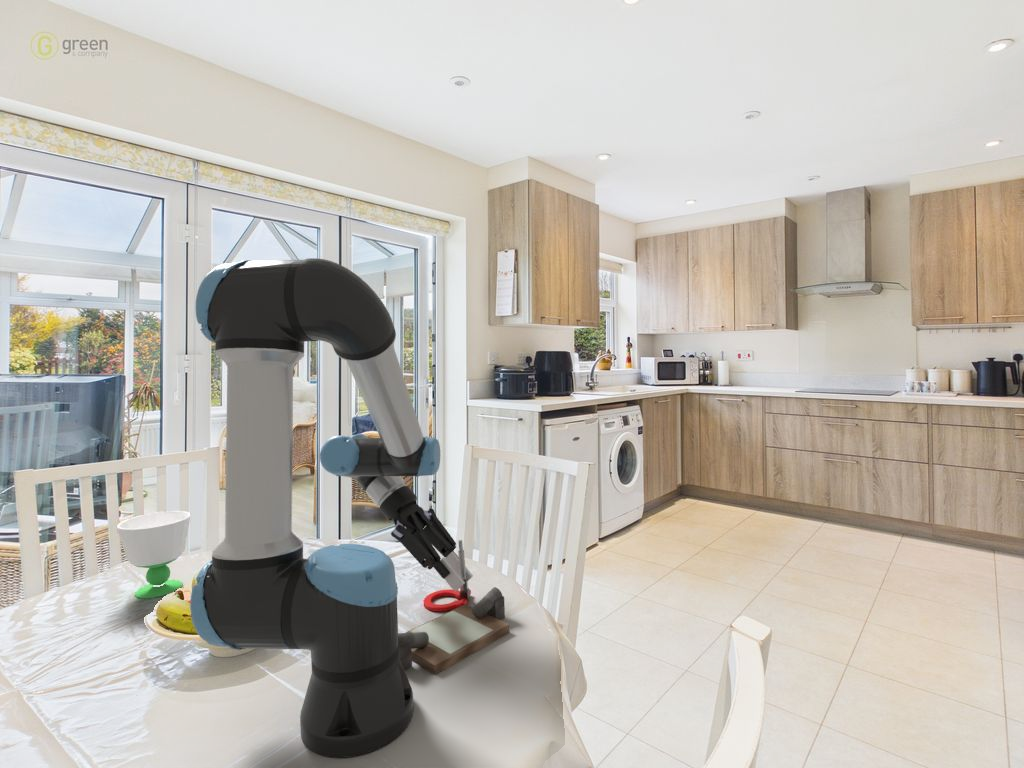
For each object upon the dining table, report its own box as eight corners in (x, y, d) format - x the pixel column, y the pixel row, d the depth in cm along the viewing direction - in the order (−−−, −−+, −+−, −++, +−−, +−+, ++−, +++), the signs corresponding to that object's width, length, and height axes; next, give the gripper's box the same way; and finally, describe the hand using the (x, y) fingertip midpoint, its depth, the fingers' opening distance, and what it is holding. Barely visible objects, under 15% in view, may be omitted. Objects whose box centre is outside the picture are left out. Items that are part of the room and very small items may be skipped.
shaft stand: (416, 685, 82) (415, 649, 82) (373, 656, 91) (372, 623, 90) (522, 624, 100) (521, 595, 100) (478, 605, 108) (477, 577, 108)
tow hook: (419, 614, 106) (465, 612, 105) (413, 549, 105) (460, 547, 104) (429, 595, 114) (472, 593, 113) (424, 535, 114) (467, 533, 113)
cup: (117, 589, 120) (112, 519, 119) (187, 571, 129) (183, 507, 128) (125, 610, 110) (120, 534, 109) (201, 589, 119) (197, 519, 118)
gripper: (404, 497, 122) (471, 579, 117) (358, 518, 108) (432, 612, 102) (423, 476, 120) (492, 558, 114) (378, 494, 106) (456, 589, 100)
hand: (464, 583), depth 108 cm, fingers open, 3 cm apart
